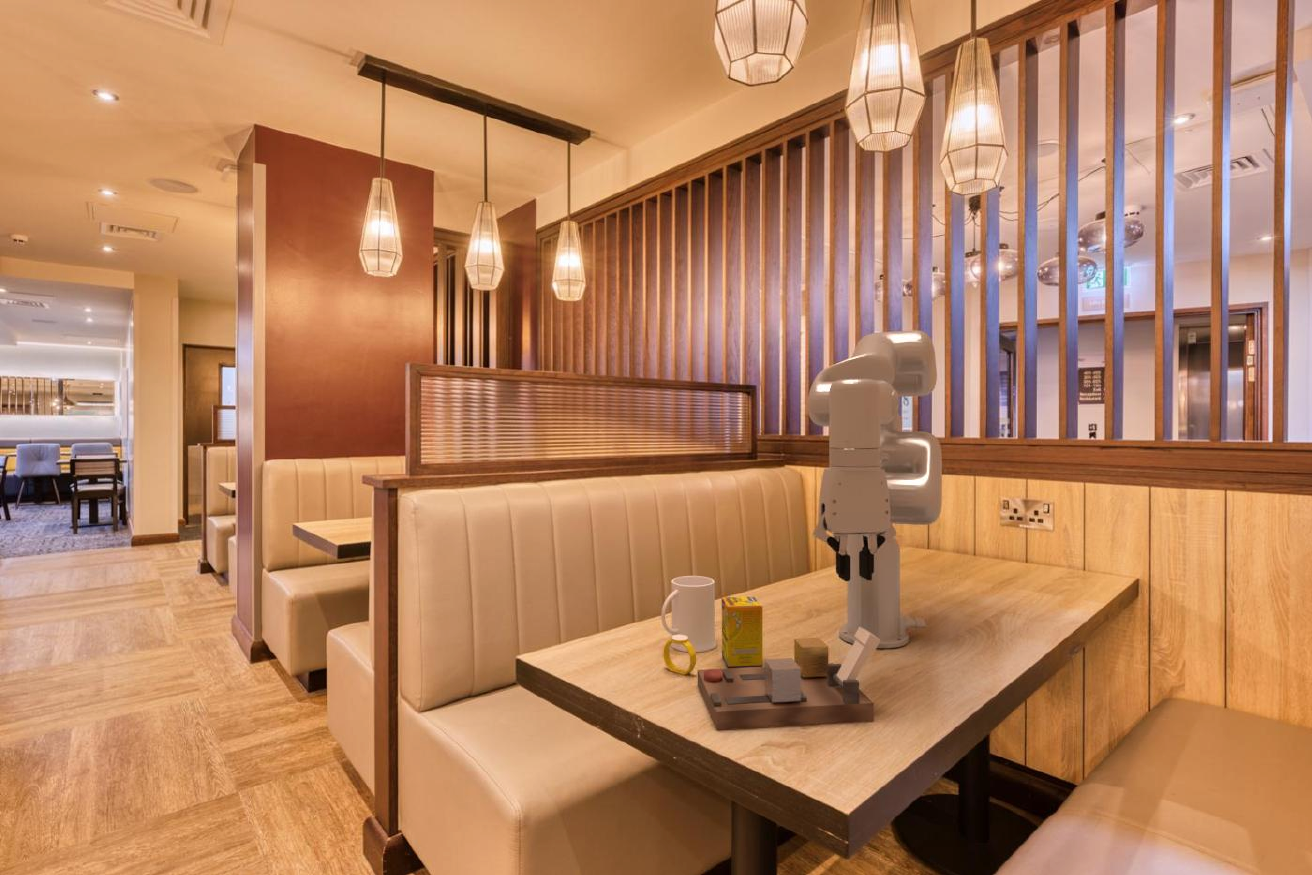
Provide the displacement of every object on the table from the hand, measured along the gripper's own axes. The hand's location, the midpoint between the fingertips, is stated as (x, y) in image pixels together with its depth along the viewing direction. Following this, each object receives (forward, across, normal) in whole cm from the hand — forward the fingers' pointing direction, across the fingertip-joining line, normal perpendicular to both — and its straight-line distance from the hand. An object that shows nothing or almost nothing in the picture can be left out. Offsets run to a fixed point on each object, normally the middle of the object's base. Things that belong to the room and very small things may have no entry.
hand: (854, 577), depth 101 cm
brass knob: (+14, +7, 0) cm, 16 cm away
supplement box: (+17, +15, -12) cm, 26 cm away
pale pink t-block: (+13, +5, +8) cm, 16 cm away
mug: (+17, +23, -22) cm, 36 cm away
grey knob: (+14, +14, +8) cm, 22 cm away
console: (+17, +13, +4) cm, 22 cm away
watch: (+17, +26, -10) cm, 33 cm away
